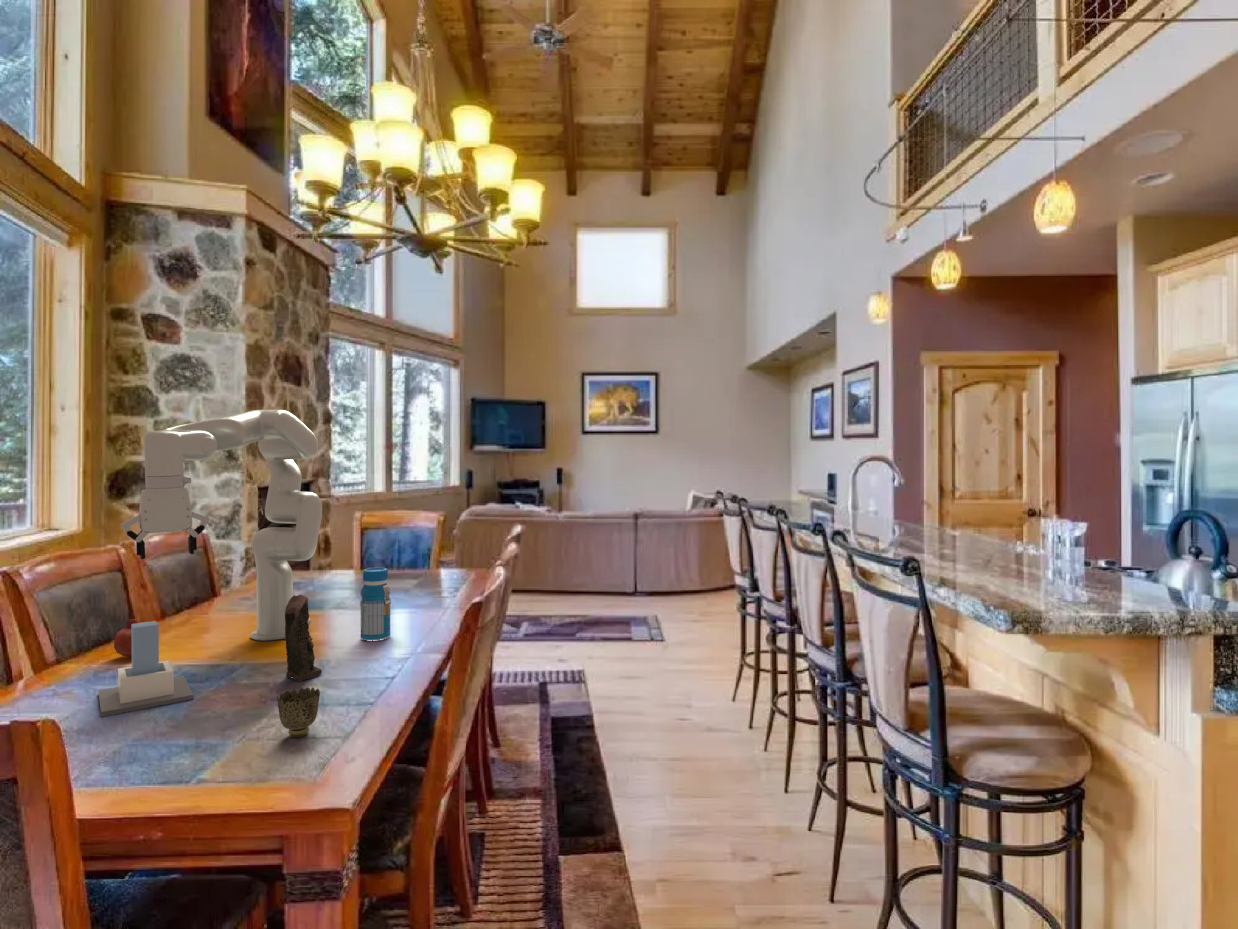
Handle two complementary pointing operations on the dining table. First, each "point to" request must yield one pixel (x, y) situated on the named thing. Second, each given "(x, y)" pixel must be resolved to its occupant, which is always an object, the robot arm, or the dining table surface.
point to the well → (144, 690)
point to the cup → (298, 710)
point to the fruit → (124, 640)
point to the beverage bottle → (375, 605)
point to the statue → (299, 640)
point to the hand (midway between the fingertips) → (167, 555)
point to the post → (145, 648)
